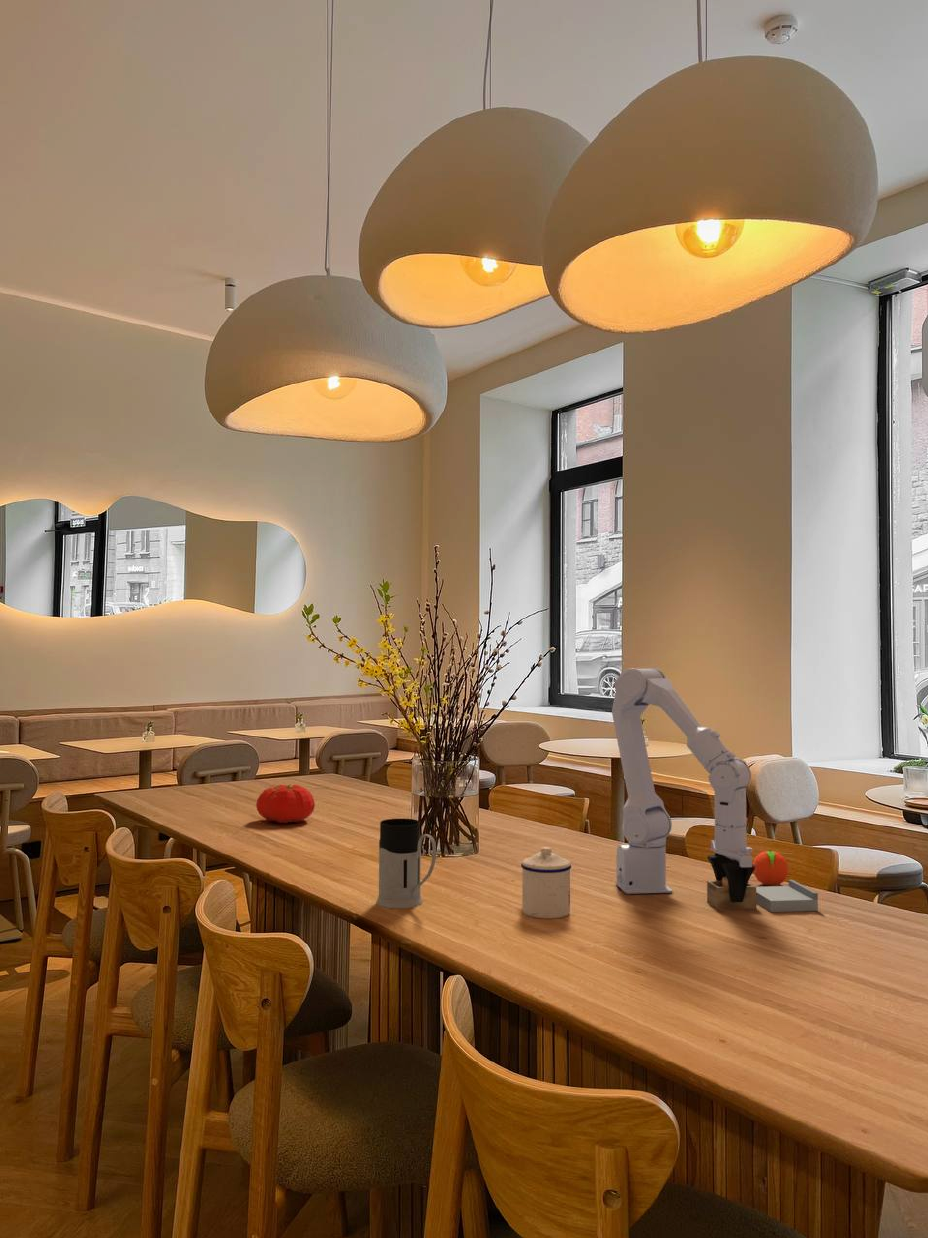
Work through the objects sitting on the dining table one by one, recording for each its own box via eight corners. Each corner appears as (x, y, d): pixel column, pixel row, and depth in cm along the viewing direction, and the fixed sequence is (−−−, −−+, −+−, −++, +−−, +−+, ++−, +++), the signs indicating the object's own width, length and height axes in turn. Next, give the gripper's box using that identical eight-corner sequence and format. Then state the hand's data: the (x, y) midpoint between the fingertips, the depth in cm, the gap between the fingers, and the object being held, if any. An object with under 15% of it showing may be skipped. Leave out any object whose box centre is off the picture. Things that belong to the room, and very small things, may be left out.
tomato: (265, 816, 261) (265, 781, 262) (321, 817, 260) (321, 783, 260) (248, 826, 247) (249, 789, 248) (307, 827, 246) (307, 790, 246)
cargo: (725, 891, 169) (725, 880, 169) (719, 887, 172) (719, 876, 172) (742, 891, 169) (742, 880, 169) (736, 886, 173) (736, 876, 173)
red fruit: (791, 892, 181) (791, 855, 181) (755, 890, 182) (754, 854, 182) (785, 882, 188) (785, 847, 189) (750, 880, 190) (750, 845, 190)
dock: (770, 911, 166) (770, 894, 167) (748, 897, 176) (747, 880, 176) (817, 910, 167) (817, 892, 168) (792, 896, 177) (792, 879, 177)
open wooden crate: (717, 909, 168) (717, 887, 168) (707, 902, 173) (707, 880, 173) (756, 908, 169) (756, 886, 169) (745, 901, 174) (745, 879, 174)
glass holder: (402, 893, 178) (402, 816, 179) (452, 907, 168) (452, 826, 169) (366, 901, 172) (367, 821, 173) (416, 917, 162) (417, 832, 163)
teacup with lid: (581, 915, 164) (581, 850, 164) (538, 922, 159) (538, 855, 160) (544, 899, 174) (544, 838, 175) (503, 905, 170) (503, 842, 171)
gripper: (767, 831, 165) (768, 907, 164) (735, 817, 179) (735, 887, 179) (730, 832, 164) (730, 908, 163) (700, 817, 178) (701, 887, 178)
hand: (730, 897), depth 171 cm, fingers closed on open wooden crate, 5 cm apart
